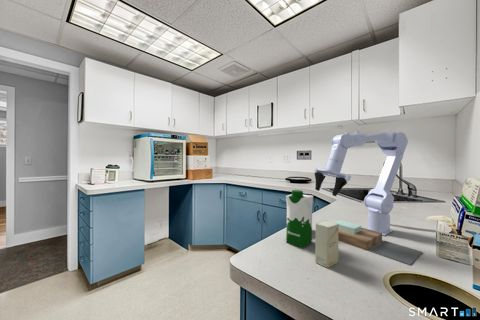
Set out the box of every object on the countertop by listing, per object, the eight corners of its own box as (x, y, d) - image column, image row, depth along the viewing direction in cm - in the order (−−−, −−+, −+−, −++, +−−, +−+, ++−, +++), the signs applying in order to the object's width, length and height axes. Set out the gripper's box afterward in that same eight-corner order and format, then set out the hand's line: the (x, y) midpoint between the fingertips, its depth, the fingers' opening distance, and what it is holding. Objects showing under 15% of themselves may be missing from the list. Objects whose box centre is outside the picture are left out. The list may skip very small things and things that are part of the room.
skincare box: (327, 268, 59) (328, 227, 59) (314, 262, 63) (315, 223, 63) (338, 262, 63) (339, 223, 63) (325, 256, 67) (326, 219, 66)
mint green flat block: (339, 224, 89) (339, 219, 89) (361, 230, 82) (361, 225, 82) (331, 227, 85) (332, 222, 85) (354, 233, 78) (354, 228, 78)
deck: (341, 228, 92) (341, 222, 92) (381, 240, 79) (382, 233, 79) (324, 235, 84) (324, 228, 84) (366, 250, 71) (366, 241, 71)
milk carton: (282, 242, 77) (283, 190, 76) (294, 236, 83) (295, 187, 83) (304, 250, 71) (305, 193, 70) (315, 242, 77) (316, 190, 77)
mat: (384, 241, 79) (384, 240, 79) (422, 252, 70) (422, 251, 70) (369, 251, 70) (369, 250, 70) (410, 265, 61) (410, 264, 61)
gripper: (315, 156, 87) (305, 186, 87) (349, 162, 76) (337, 196, 75) (323, 161, 92) (313, 189, 91) (356, 167, 80) (346, 199, 79)
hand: (325, 192), depth 83 cm, fingers open, 7 cm apart
